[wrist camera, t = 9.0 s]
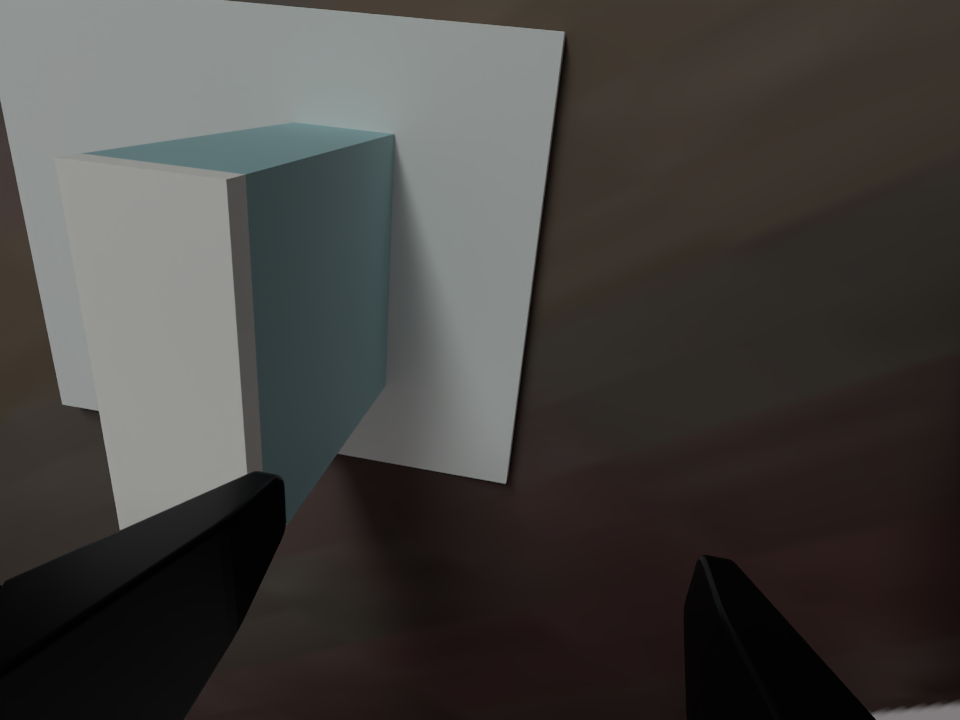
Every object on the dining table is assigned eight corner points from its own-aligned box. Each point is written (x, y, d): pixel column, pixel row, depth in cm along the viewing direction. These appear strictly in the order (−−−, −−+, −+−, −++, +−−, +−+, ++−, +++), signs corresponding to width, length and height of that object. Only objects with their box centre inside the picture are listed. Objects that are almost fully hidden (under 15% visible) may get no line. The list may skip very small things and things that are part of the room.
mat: (565, 33, 17) (564, 31, 16) (508, 474, 23) (505, 483, 22) (-7, -20, 19) (-25, -23, 19) (74, 397, 25) (62, 404, 24)
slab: (394, 133, 18) (225, 179, 10) (385, 385, 22) (254, 571, 13) (294, 122, 19) (54, 157, 10) (300, 371, 22) (122, 544, 14)
